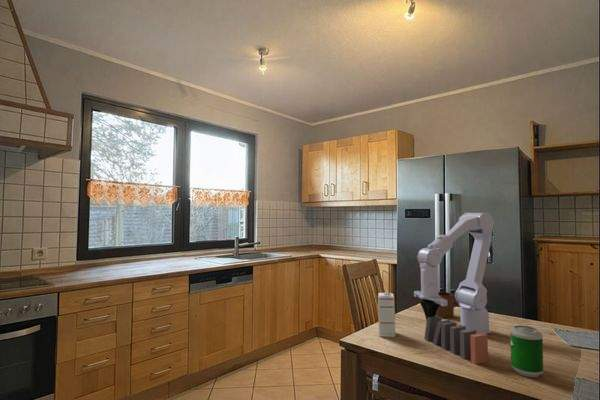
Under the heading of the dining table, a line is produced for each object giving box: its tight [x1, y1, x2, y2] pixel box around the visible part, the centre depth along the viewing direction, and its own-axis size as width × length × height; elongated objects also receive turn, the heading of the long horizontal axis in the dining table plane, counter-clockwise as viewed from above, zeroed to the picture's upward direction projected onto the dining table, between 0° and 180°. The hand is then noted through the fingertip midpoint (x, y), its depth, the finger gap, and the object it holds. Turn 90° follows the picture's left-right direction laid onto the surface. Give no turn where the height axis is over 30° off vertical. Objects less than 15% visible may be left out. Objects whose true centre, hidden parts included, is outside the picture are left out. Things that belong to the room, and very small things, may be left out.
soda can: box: [509, 324, 544, 378], centre depth 99 cm, size 8×8×12 cm
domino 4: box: [449, 324, 466, 355], centre depth 113 cm, size 5×2×8 cm, turn 112°
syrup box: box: [377, 292, 396, 338], centre depth 129 cm, size 6×6×14 cm
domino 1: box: [423, 315, 443, 342], centre depth 123 cm, size 5×2×8 cm, turn 112°
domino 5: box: [459, 329, 476, 360], centre depth 109 cm, size 5×2×8 cm, turn 112°
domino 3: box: [440, 321, 458, 350], centre depth 117 cm, size 5×2×8 cm, turn 111°
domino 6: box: [470, 333, 489, 365], centre depth 106 cm, size 5×2×8 cm, turn 111°
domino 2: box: [432, 319, 452, 346], centre depth 119 cm, size 5×2×8 cm, turn 111°
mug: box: [435, 291, 460, 319], centre depth 150 cm, size 12×8×9 cm, turn 92°
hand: (430, 321), depth 125 cm, fingers closed
